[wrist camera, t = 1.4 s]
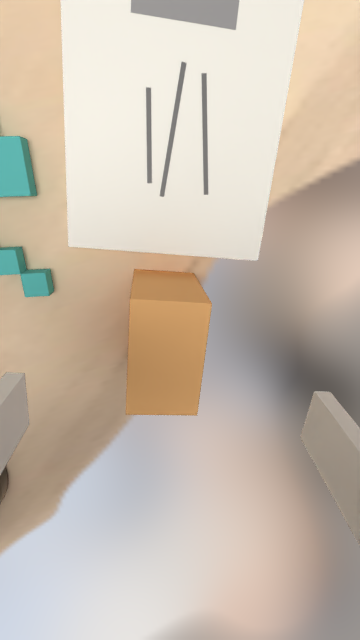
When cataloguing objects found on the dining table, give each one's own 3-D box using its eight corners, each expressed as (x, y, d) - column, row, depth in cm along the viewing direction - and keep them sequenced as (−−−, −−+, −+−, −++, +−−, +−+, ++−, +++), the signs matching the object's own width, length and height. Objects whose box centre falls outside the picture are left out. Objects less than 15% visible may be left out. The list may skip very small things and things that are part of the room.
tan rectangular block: (184, 359, 37) (197, 415, 27) (130, 357, 36) (125, 414, 27) (193, 273, 33) (212, 303, 24) (134, 269, 32) (129, 299, 23)
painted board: (253, 258, 33) (257, 260, 32) (71, 244, 31) (68, 246, 29) (320, -132, 23) (331, -154, 22) (59, -195, 21) (53, -224, 19)
